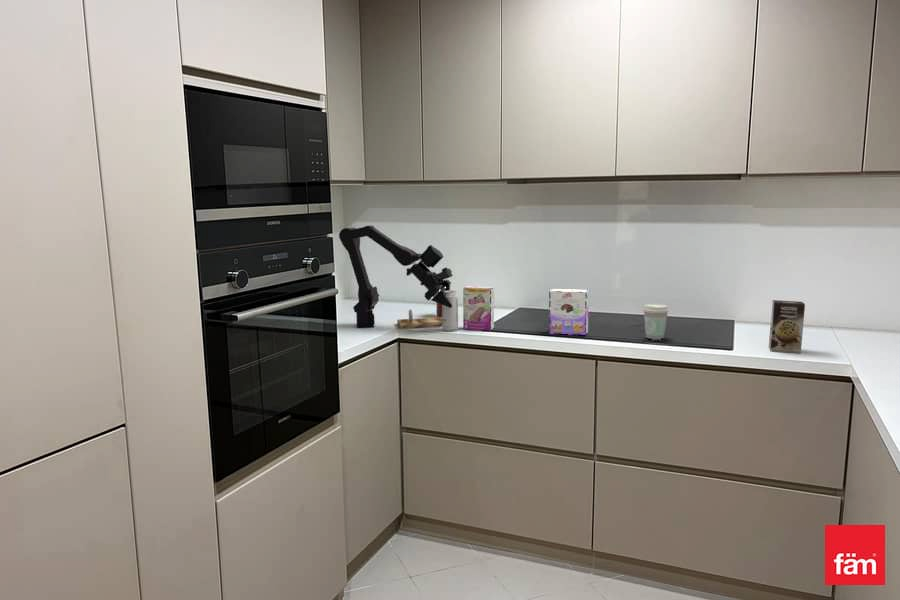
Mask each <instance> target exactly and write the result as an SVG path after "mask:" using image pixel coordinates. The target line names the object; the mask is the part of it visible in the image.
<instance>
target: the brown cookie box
mask: <svg viewBox="0 0 900 600" xmlns="http://www.w3.org/2000/svg"><path fill="white" fill-rule="evenodd" d="M805 308H806V304H805V302H803V301H796V300H795V301H793V300H780V299H779V300H778V299H777V300H776V299H772V304H771V316H770V325H769V327H770V328H769V339H768V349H769V351H770V352H778V353H779V352H780V353H791V354H801V353H802V343H803V342H802V341H803V331H804V322H805V321H804V320H805Z"/></svg>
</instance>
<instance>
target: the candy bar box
mask: <svg viewBox="0 0 900 600" xmlns="http://www.w3.org/2000/svg"><path fill="white" fill-rule="evenodd" d="M462 298H463V299H462V300H463V308H462V311H463V314H462V317H463V320H462V321H463V324H462V325H463V328H462V329H463V330H466V331H467V330H469V331H470V330H471V331H483V332H484V331H485V332H491V330H492V329H493V328H494V329H495V287H493V286H477V285H475V286H474V285H466V286H464V287H463V297H462ZM494 329H493V330H494ZM493 330H492V331H493Z"/></svg>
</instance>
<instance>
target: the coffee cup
mask: <svg viewBox="0 0 900 600" xmlns="http://www.w3.org/2000/svg"><path fill="white" fill-rule="evenodd" d="M642 311H643V313H644V314H643V317H644V330H645V331H644V332H645V338H646V337H647V338H653V339H661V338H663V339H664V336H665V330H666V324H667V319H668V313H669V308H668V305H666V304H661V303H647V304H645V305H644V308H643V310H642Z"/></svg>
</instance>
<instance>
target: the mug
mask: <svg viewBox="0 0 900 600" xmlns="http://www.w3.org/2000/svg"><path fill="white" fill-rule="evenodd" d="M435 309H436V312H435V313H436V316H437V317H442V304H440V303H437V302H436V308H435ZM437 317H436V318H437Z"/></svg>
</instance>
